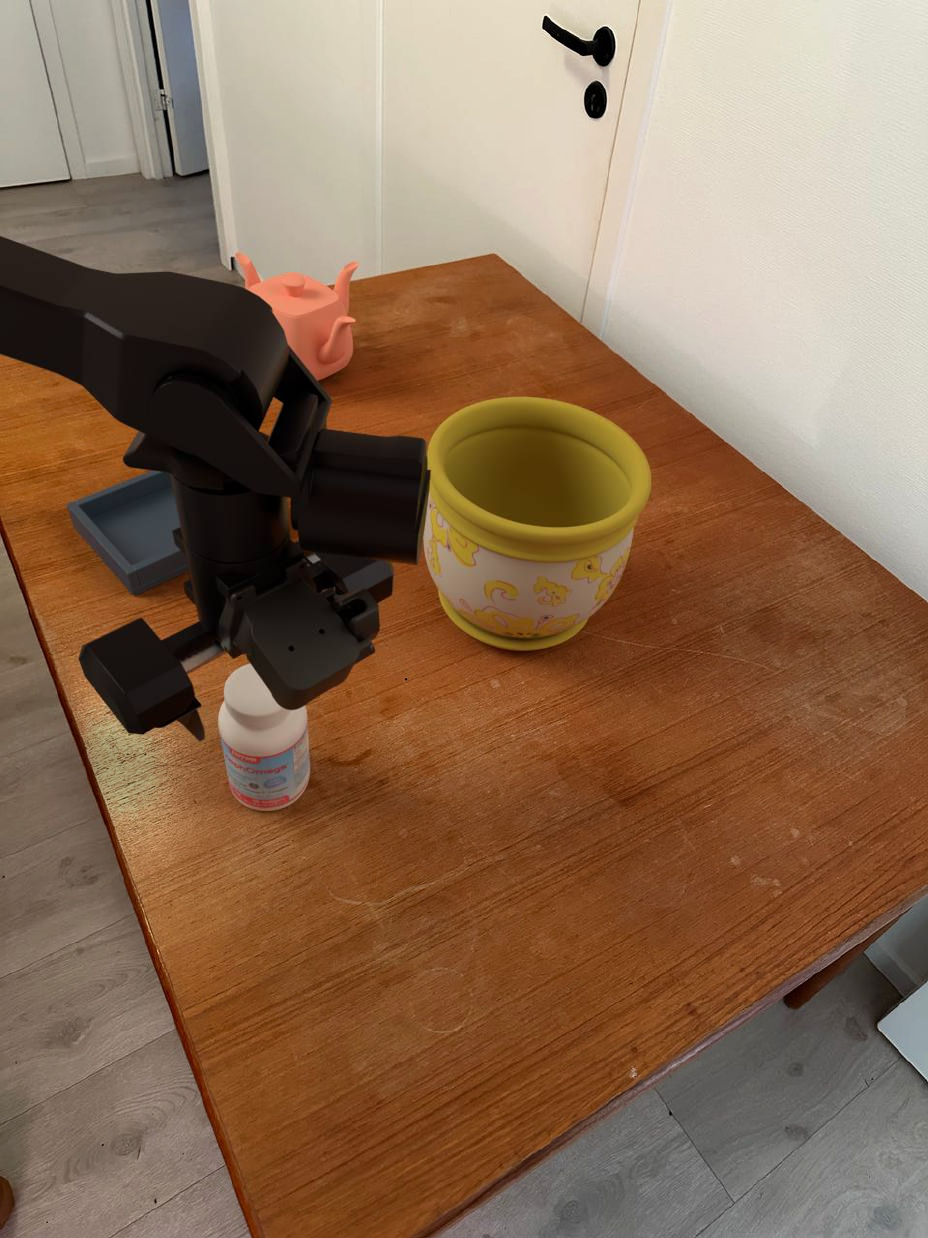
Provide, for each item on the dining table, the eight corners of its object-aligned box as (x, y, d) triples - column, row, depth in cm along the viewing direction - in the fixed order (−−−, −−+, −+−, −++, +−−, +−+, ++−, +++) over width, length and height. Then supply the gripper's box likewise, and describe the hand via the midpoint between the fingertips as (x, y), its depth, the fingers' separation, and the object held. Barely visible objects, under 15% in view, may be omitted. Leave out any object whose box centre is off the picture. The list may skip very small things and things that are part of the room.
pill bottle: (216, 802, 64) (195, 711, 56) (249, 737, 68) (234, 643, 60) (294, 823, 63) (284, 735, 55) (322, 756, 68) (318, 664, 59)
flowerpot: (418, 531, 86) (427, 388, 74) (596, 540, 88) (633, 401, 76) (415, 672, 74) (426, 528, 62) (622, 680, 75) (672, 541, 63)
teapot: (243, 333, 108) (234, 246, 100) (358, 339, 110) (359, 254, 102) (229, 398, 98) (218, 307, 90) (355, 404, 100) (355, 315, 92)
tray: (133, 596, 77) (127, 574, 75) (73, 526, 82) (65, 504, 80) (281, 527, 85) (279, 505, 83) (217, 467, 90) (214, 445, 88)
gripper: (154, 706, 39) (199, 868, 50) (461, 539, 48) (440, 707, 60) (42, 567, 44) (106, 743, 55) (340, 440, 53) (342, 612, 65)
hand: (259, 700), depth 59 cm, fingers open, 9 cm apart
